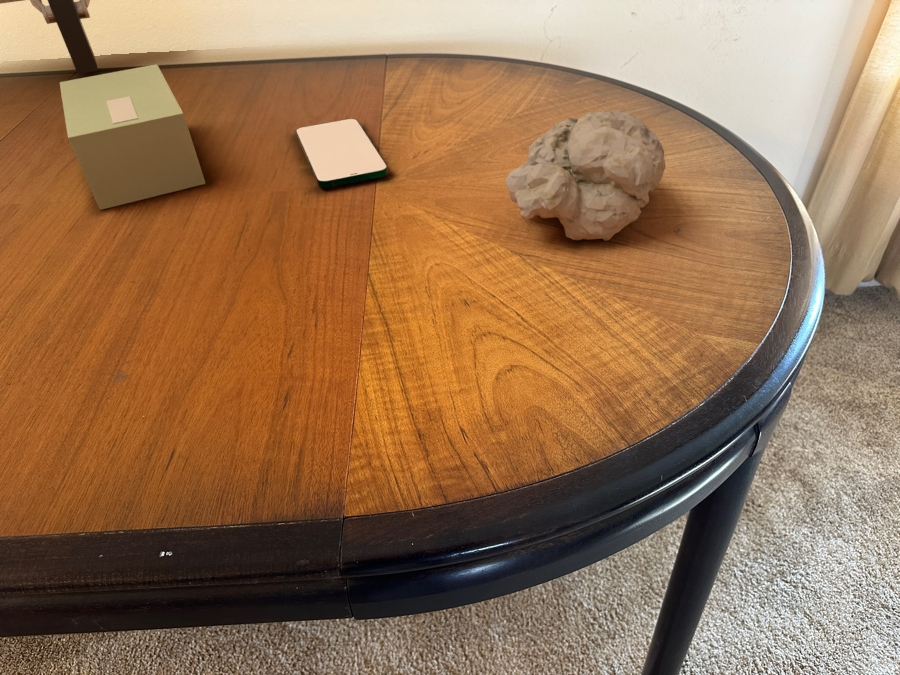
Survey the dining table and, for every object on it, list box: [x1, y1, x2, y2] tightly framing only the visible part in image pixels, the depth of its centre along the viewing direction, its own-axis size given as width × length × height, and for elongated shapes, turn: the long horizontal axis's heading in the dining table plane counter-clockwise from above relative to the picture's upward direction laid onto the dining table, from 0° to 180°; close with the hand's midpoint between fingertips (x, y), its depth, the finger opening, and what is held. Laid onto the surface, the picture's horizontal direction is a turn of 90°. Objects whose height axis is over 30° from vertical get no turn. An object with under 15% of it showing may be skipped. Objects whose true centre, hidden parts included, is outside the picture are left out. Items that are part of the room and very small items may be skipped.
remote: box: [47, 0, 100, 75], centre depth 96 cm, size 3×5×13 cm, turn 26°
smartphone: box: [295, 118, 389, 189], centre depth 75 cm, size 8×1×16 cm
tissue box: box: [59, 64, 206, 211], centre depth 74 cm, size 18×11×8 cm, turn 27°
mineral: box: [505, 109, 666, 242], centre depth 61 cm, size 12×17×10 cm
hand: (68, 18), depth 95 cm, fingers closed on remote, 3 cm apart
